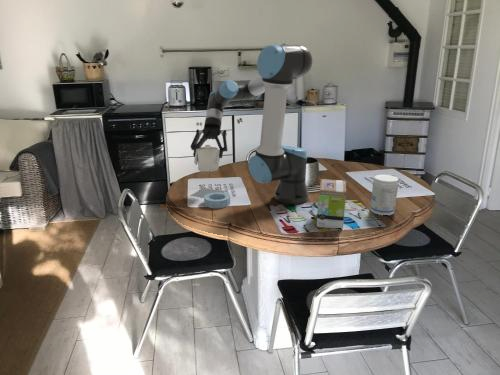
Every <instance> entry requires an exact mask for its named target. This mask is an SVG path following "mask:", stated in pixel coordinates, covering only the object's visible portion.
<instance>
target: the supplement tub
mask: <svg viewBox="0 0 500 375" xmlns="http://www.w3.org/2000/svg"><path fill="white" fill-rule="evenodd" d="M398 189H399V177H396V176H394V175H391V174H377V175H375V176H374V177H373V182H372V189H371V190H372V192H371V198H370V208H369V209H370V211H371V212H372V213H373V214H375V215H377V214H378V216H383V215H388V216H392V215H393V214H394V213H395V210H396V204H397V197H398V196H397V195H398Z"/></svg>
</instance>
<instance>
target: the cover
mask: <svg viewBox="0 0 500 375" xmlns="http://www.w3.org/2000/svg"><path fill="white" fill-rule="evenodd" d="M218 150H219V147H214V146H211V145H210V144H205V145H204V146H201V147H200V148H198V149H197V152H198V162H197V168H198V169H197V170H198V171H200V172H208V173H210V172H216V171H218V170H219V166H217V164H216V159H217V153H218Z"/></svg>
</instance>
